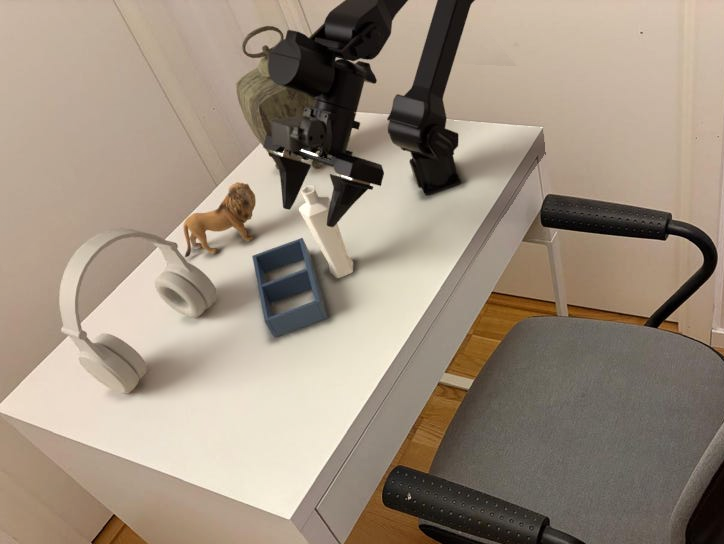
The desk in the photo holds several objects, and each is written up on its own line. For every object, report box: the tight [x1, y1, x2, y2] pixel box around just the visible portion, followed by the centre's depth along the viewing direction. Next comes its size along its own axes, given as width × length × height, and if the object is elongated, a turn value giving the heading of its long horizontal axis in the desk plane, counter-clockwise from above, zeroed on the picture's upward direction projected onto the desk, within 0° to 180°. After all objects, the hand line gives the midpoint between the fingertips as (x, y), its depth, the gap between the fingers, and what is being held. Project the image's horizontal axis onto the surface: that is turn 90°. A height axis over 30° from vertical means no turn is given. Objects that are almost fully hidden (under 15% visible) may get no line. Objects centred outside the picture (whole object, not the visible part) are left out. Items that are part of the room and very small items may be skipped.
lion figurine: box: [183, 181, 257, 258], centre depth 121 cm, size 15×5×9 cm, turn 116°
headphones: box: [58, 227, 218, 394], centre depth 103 cm, size 20×8×19 cm, turn 152°
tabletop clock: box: [235, 25, 322, 171], centre depth 126 cm, size 14×9×25 cm, turn 120°
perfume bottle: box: [298, 185, 354, 279], centre depth 108 cm, size 5×4×15 cm
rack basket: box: [251, 237, 329, 339], centre depth 111 cm, size 8×16×4 cm, turn 18°
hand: (307, 217), depth 105 cm, fingers open, 9 cm apart
